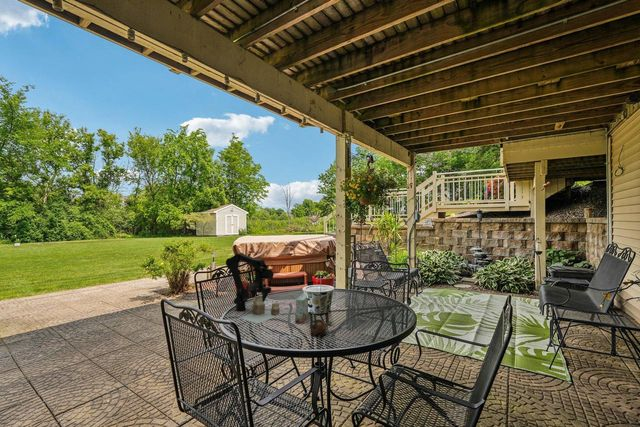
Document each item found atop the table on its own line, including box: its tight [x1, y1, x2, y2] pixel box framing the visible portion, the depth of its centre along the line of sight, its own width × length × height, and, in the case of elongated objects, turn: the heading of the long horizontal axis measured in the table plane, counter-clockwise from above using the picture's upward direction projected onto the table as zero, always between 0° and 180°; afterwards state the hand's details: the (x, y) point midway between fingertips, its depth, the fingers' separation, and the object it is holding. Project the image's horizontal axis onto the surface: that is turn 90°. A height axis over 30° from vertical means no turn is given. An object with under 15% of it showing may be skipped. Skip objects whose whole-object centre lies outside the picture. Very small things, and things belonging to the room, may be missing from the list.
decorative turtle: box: [309, 318, 328, 337], centre depth 168 cm, size 10×15×8 cm, turn 17°
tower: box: [270, 302, 280, 317], centre depth 198 cm, size 4×4×8 cm
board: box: [238, 309, 282, 324], centre depth 195 cm, size 18×22×1 cm
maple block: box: [252, 295, 265, 306], centre depth 200 cm, size 5×5×5 cm
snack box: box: [294, 292, 310, 324], centre depth 194 cm, size 21×6×15 cm, turn 168°
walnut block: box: [251, 303, 266, 315], centre depth 200 cm, size 6×6×6 cm
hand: (258, 300), depth 200 cm, fingers open, 9 cm apart
